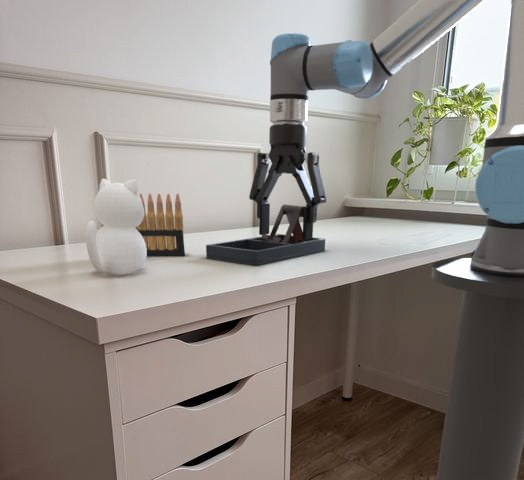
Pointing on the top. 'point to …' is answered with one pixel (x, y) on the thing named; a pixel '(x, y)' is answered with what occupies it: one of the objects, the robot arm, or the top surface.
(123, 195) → the cat figurine
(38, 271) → the top surface
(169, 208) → the ammunition clip
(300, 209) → the tablet stand
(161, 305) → the top surface
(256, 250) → the divided tray
